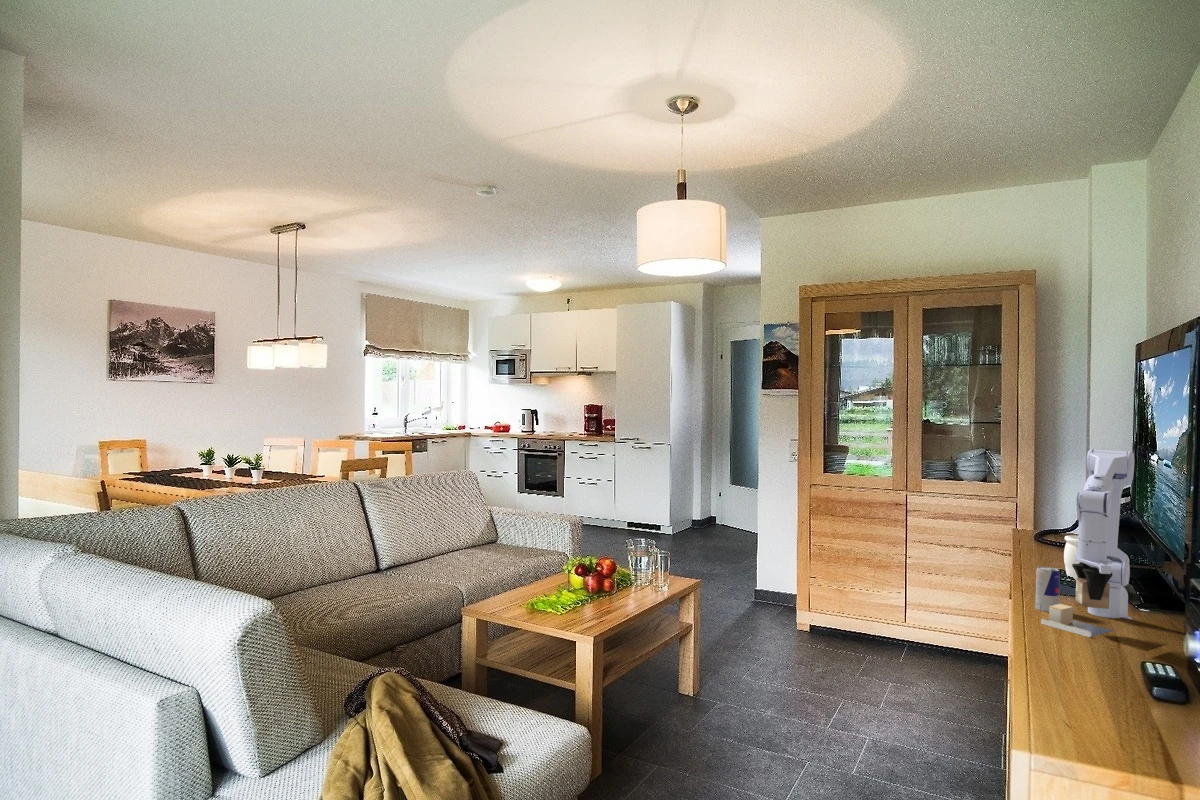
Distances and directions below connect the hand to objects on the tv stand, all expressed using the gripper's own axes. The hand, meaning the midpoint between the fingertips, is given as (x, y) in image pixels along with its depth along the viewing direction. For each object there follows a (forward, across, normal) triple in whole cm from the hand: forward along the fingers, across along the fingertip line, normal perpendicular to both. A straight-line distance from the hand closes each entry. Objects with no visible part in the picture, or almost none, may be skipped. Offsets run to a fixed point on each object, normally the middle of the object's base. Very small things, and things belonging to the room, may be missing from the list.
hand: (1091, 597), depth 173 cm
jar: (+10, +52, -19) cm, 56 cm away
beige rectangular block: (+8, +5, +5) cm, 11 cm away
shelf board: (+9, +2, +2) cm, 10 cm away
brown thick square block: (+2, 0, 0) cm, 2 cm away
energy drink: (+10, +17, +4) cm, 20 cm away
